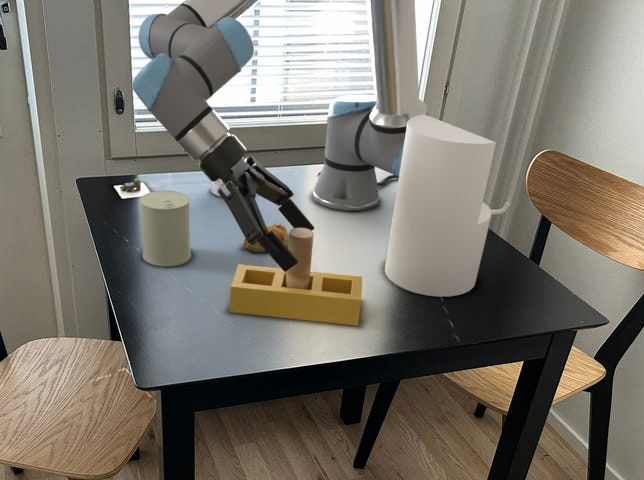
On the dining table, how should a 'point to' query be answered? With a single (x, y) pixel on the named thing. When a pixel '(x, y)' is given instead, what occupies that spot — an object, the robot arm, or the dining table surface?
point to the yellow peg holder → (296, 296)
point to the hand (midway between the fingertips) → (300, 249)
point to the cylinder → (439, 209)
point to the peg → (300, 258)
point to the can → (165, 228)
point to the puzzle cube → (132, 189)
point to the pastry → (278, 231)
